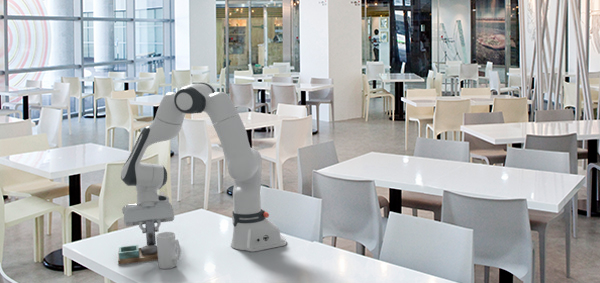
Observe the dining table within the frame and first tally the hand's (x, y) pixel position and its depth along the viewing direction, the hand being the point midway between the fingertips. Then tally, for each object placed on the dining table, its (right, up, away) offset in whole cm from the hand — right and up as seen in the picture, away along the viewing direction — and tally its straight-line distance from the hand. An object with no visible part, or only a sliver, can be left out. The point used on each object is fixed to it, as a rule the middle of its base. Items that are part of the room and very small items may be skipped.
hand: (150, 231), depth 231 cm
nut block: (-2, -8, -11) cm, 14 cm away
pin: (0, -5, +1) cm, 5 cm away
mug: (+13, -9, -22) cm, 28 cm away
